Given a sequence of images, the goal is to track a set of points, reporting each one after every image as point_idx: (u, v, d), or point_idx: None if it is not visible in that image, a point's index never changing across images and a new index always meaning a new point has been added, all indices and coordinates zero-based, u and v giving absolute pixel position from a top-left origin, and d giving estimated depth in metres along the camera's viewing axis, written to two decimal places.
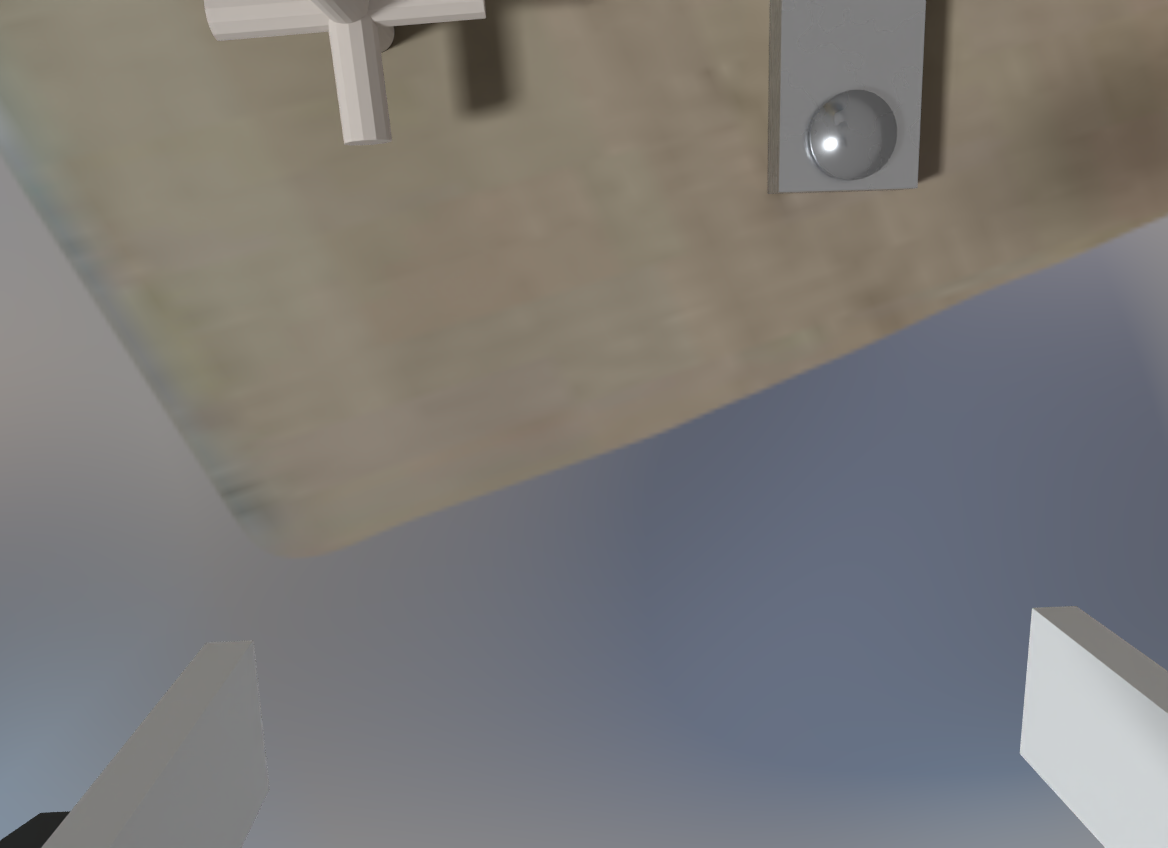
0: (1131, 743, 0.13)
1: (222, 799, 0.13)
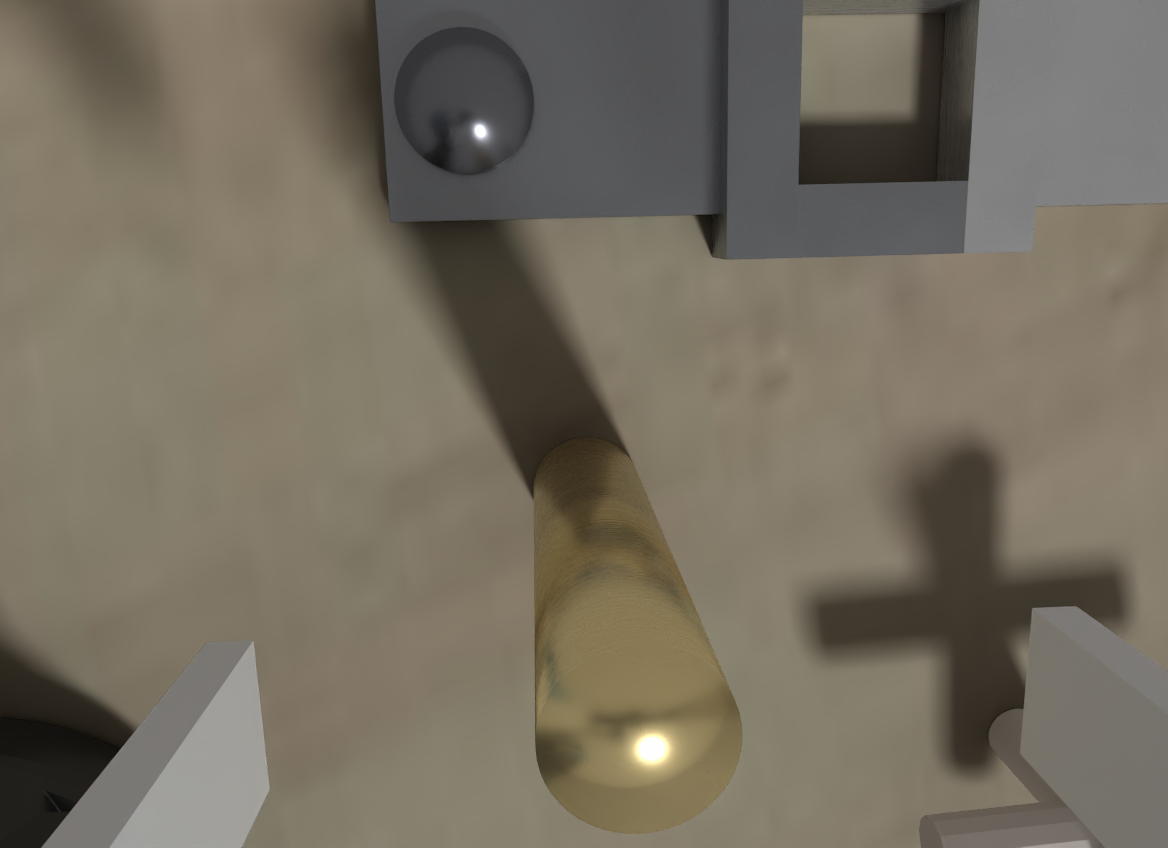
0: (1131, 743, 0.13)
1: (222, 799, 0.13)
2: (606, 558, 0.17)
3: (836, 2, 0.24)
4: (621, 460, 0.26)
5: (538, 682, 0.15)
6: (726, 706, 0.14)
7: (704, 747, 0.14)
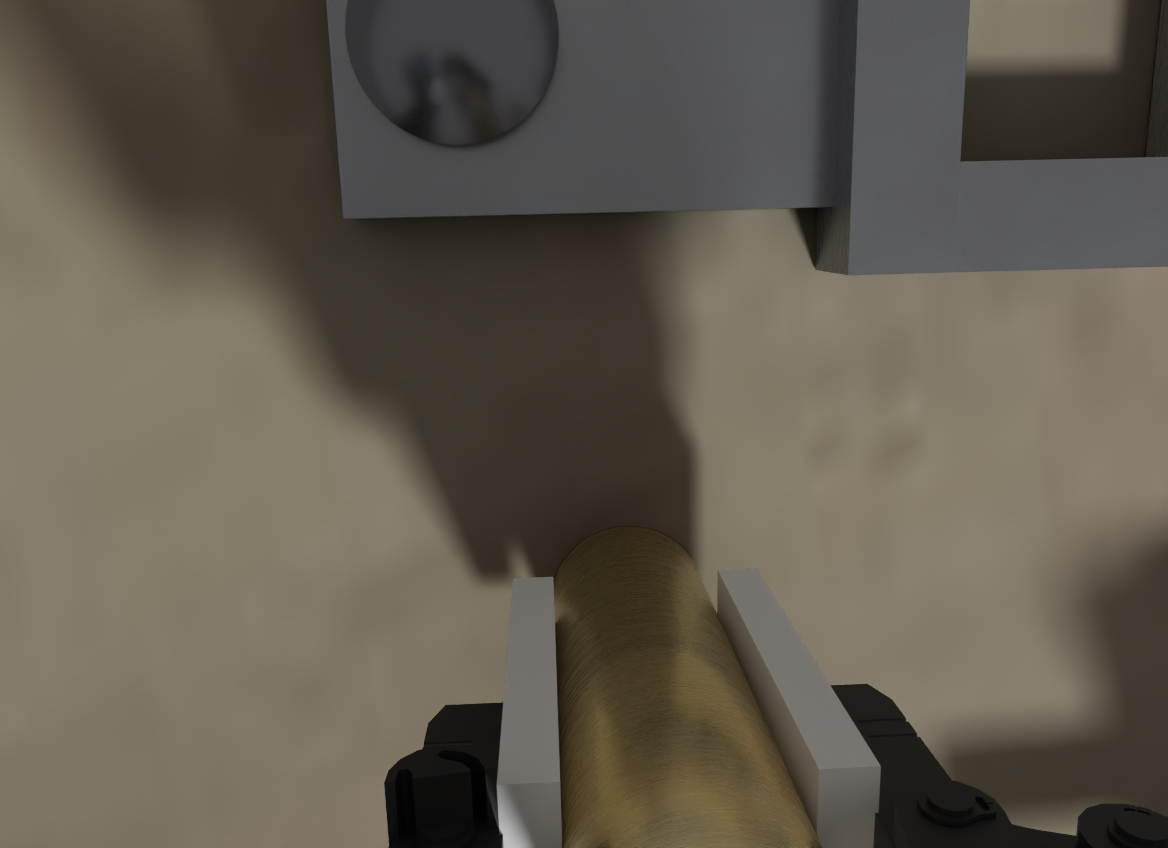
0: (749, 680, 0.15)
1: None
2: None
3: None
4: (682, 569, 0.17)
5: None
6: None
7: None
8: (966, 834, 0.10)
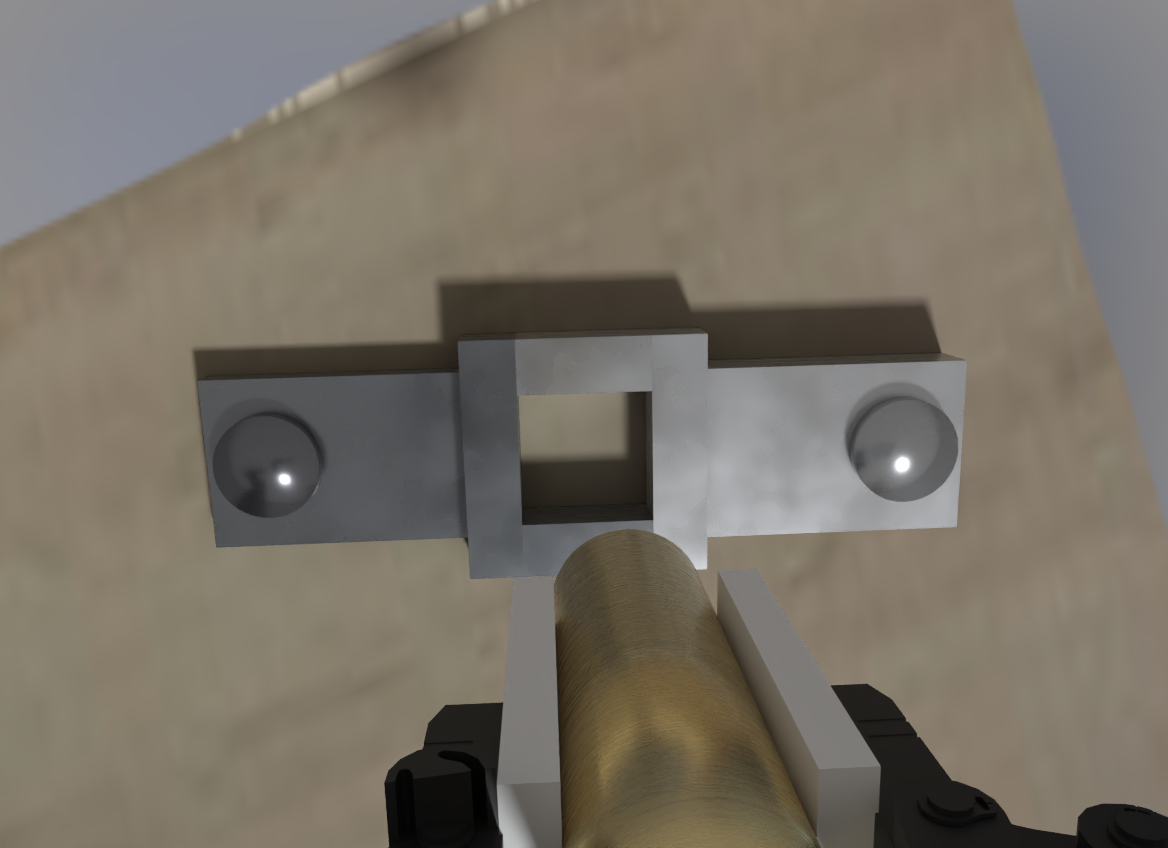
0: (749, 680, 0.15)
1: None
2: None
3: None
4: (682, 572, 0.17)
5: None
6: None
7: None
8: (966, 834, 0.10)
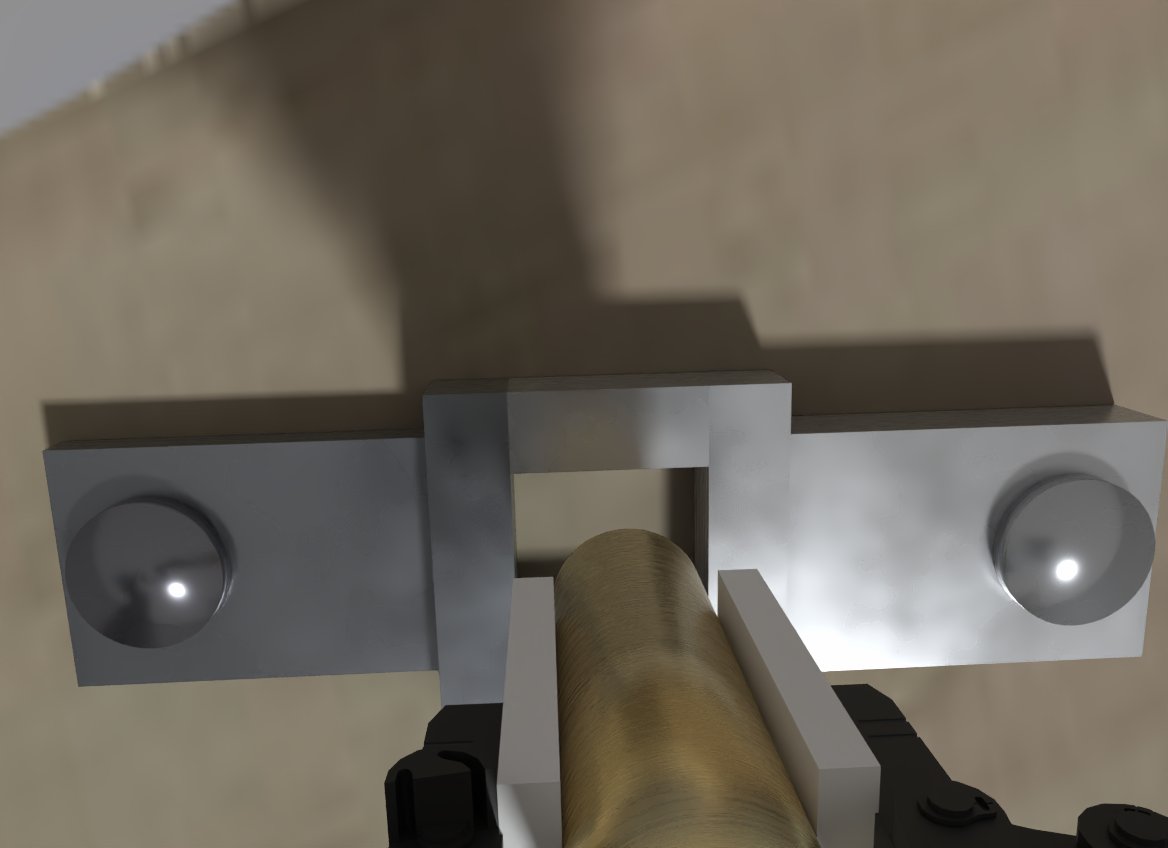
0: (749, 681, 0.15)
1: None
2: None
3: None
4: (682, 572, 0.17)
5: None
6: None
7: None
8: (966, 834, 0.10)
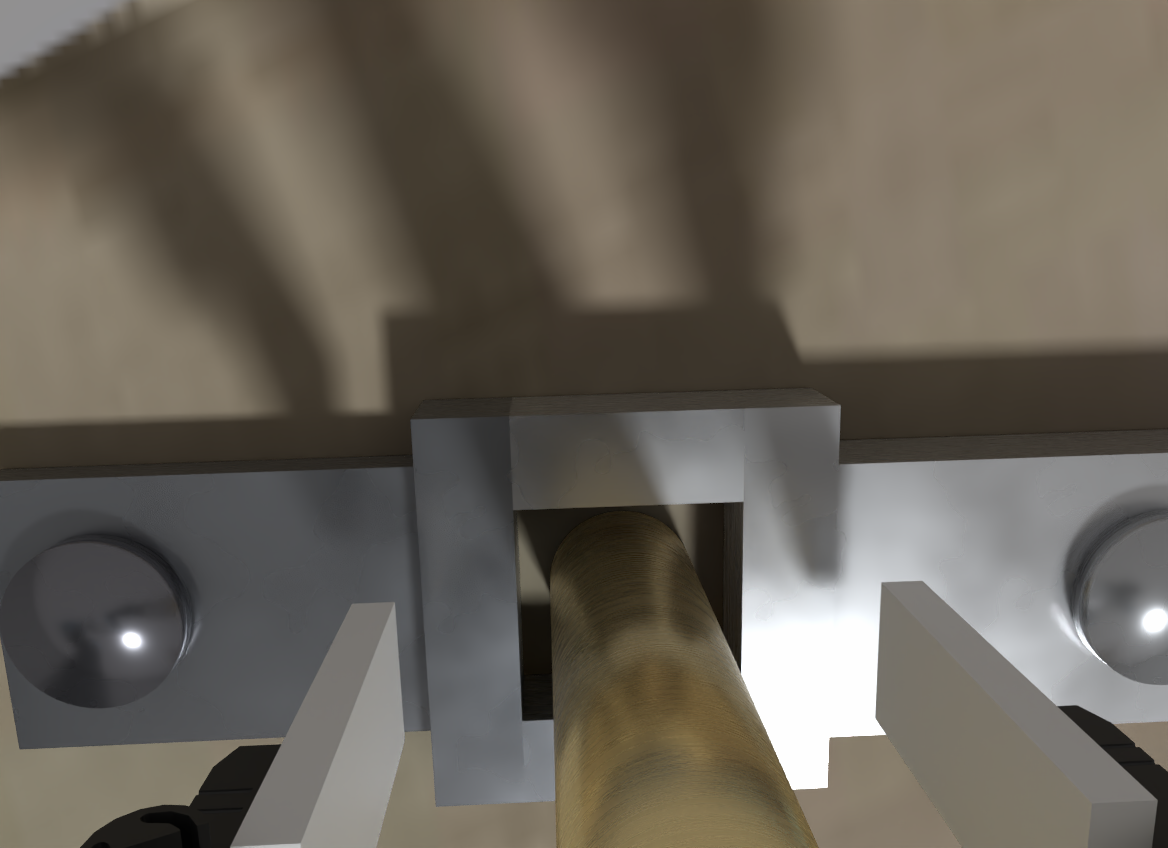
0: (945, 701, 0.14)
1: (382, 741, 0.15)
2: (678, 787, 0.10)
3: None
4: (671, 549, 0.19)
5: None
6: None
7: None
8: None
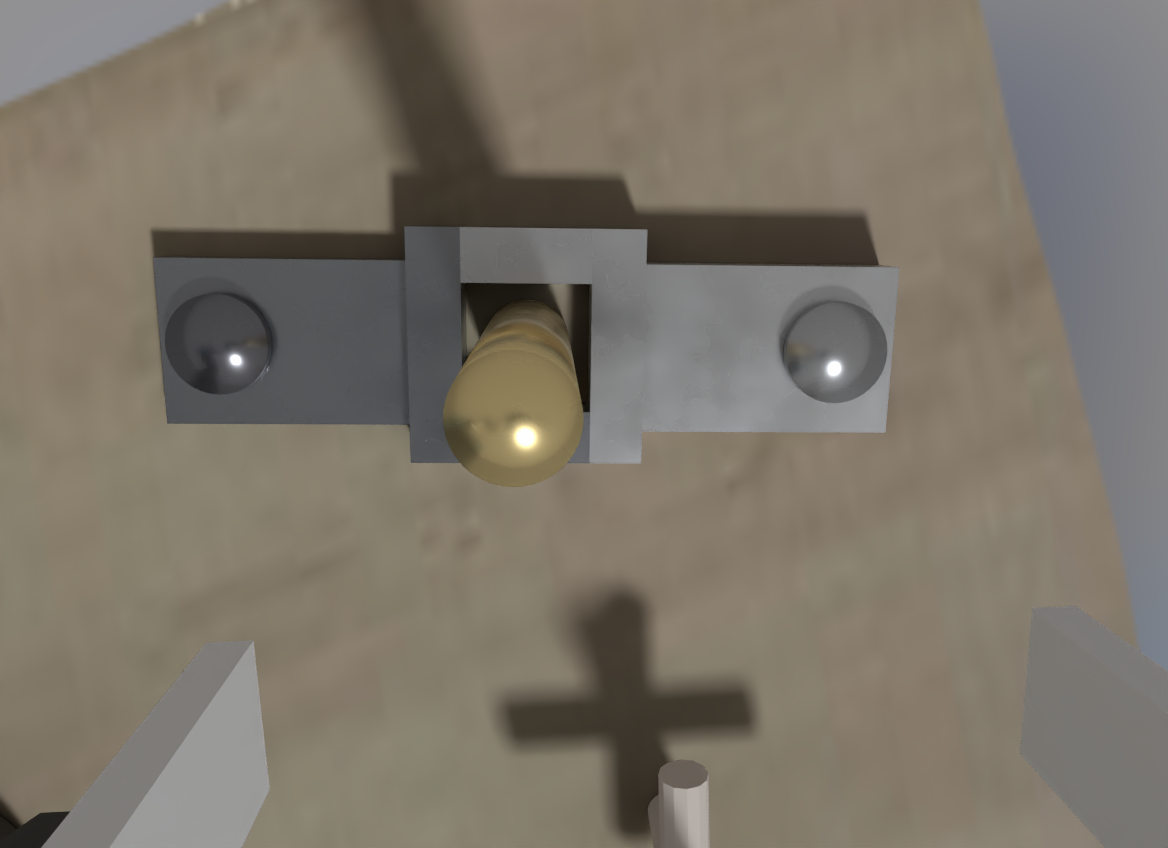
0: (1131, 743, 0.13)
1: (222, 799, 0.13)
2: (511, 331, 0.24)
3: None
4: (551, 312, 0.33)
5: None
6: (572, 397, 0.21)
7: (557, 425, 0.21)
8: None
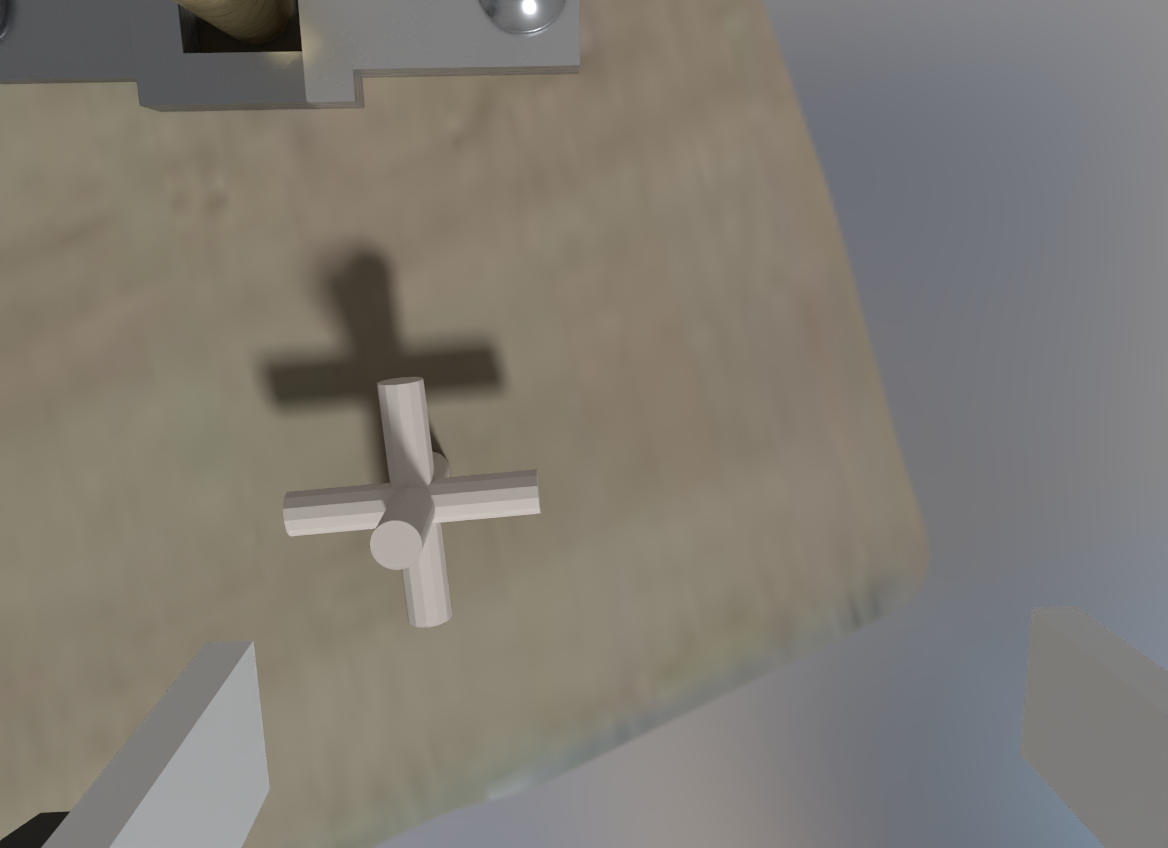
0: (1131, 743, 0.13)
1: (222, 799, 0.13)
2: None
3: None
4: None
5: None
6: None
7: None
8: None
